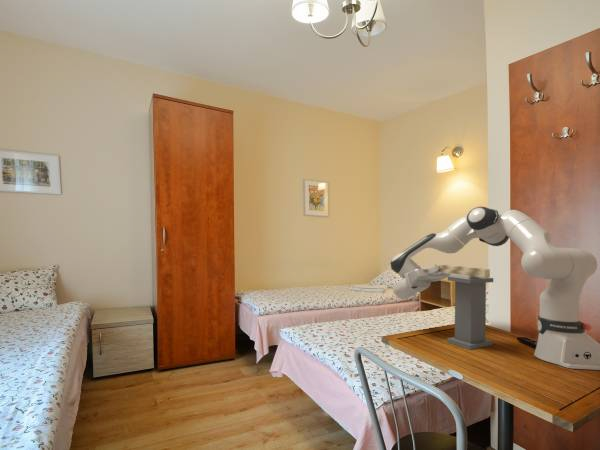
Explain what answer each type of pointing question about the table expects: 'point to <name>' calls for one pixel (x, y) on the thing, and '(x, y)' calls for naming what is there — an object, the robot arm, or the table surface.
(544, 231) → the robot arm
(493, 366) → the table surface
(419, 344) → the table surface
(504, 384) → the table surface
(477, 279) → the stand
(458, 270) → the lath
